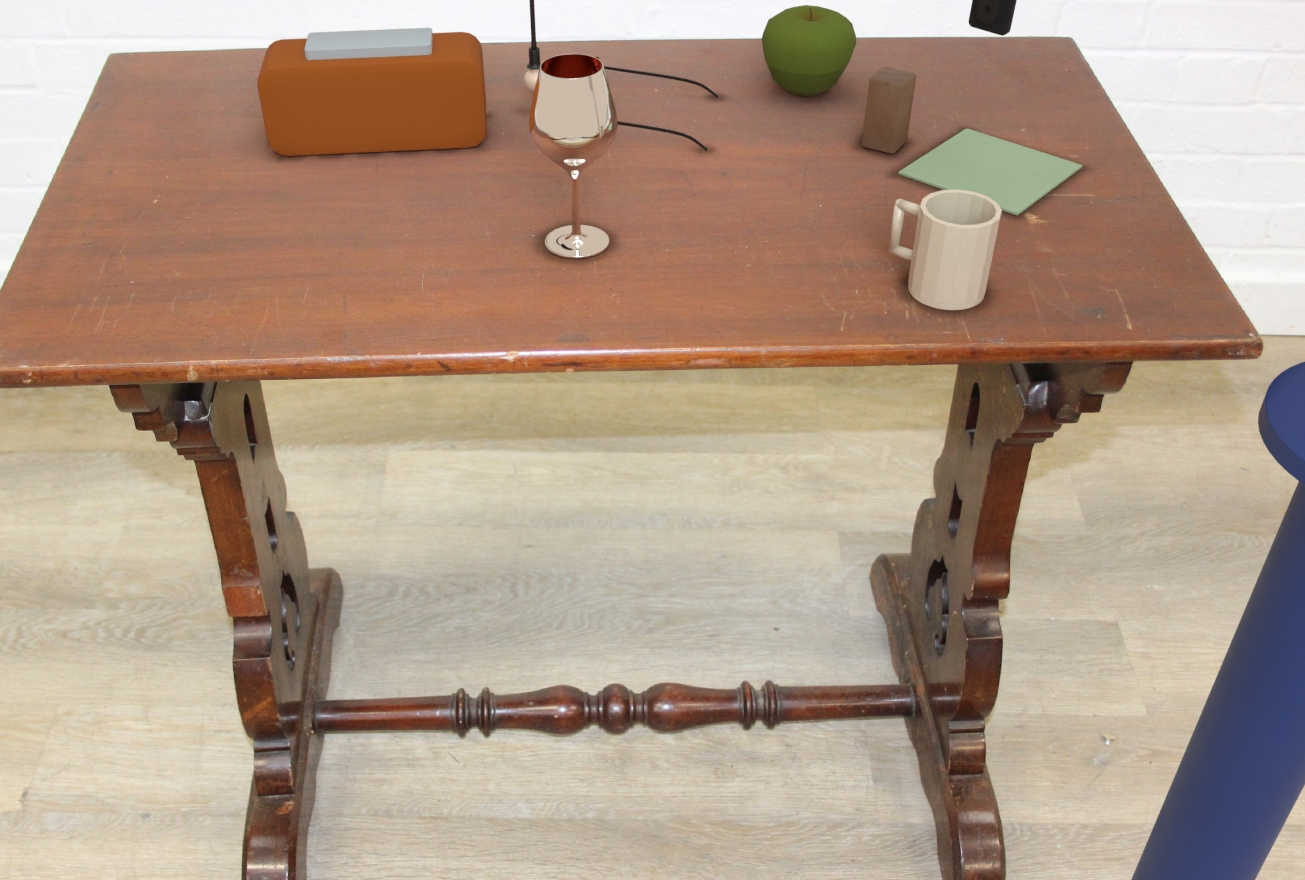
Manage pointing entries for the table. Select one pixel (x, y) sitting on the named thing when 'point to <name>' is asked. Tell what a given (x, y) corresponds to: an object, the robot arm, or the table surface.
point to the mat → (991, 169)
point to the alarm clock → (373, 92)
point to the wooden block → (888, 109)
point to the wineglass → (573, 136)
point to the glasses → (668, 78)
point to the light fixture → (532, 54)
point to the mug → (948, 247)
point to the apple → (808, 48)
